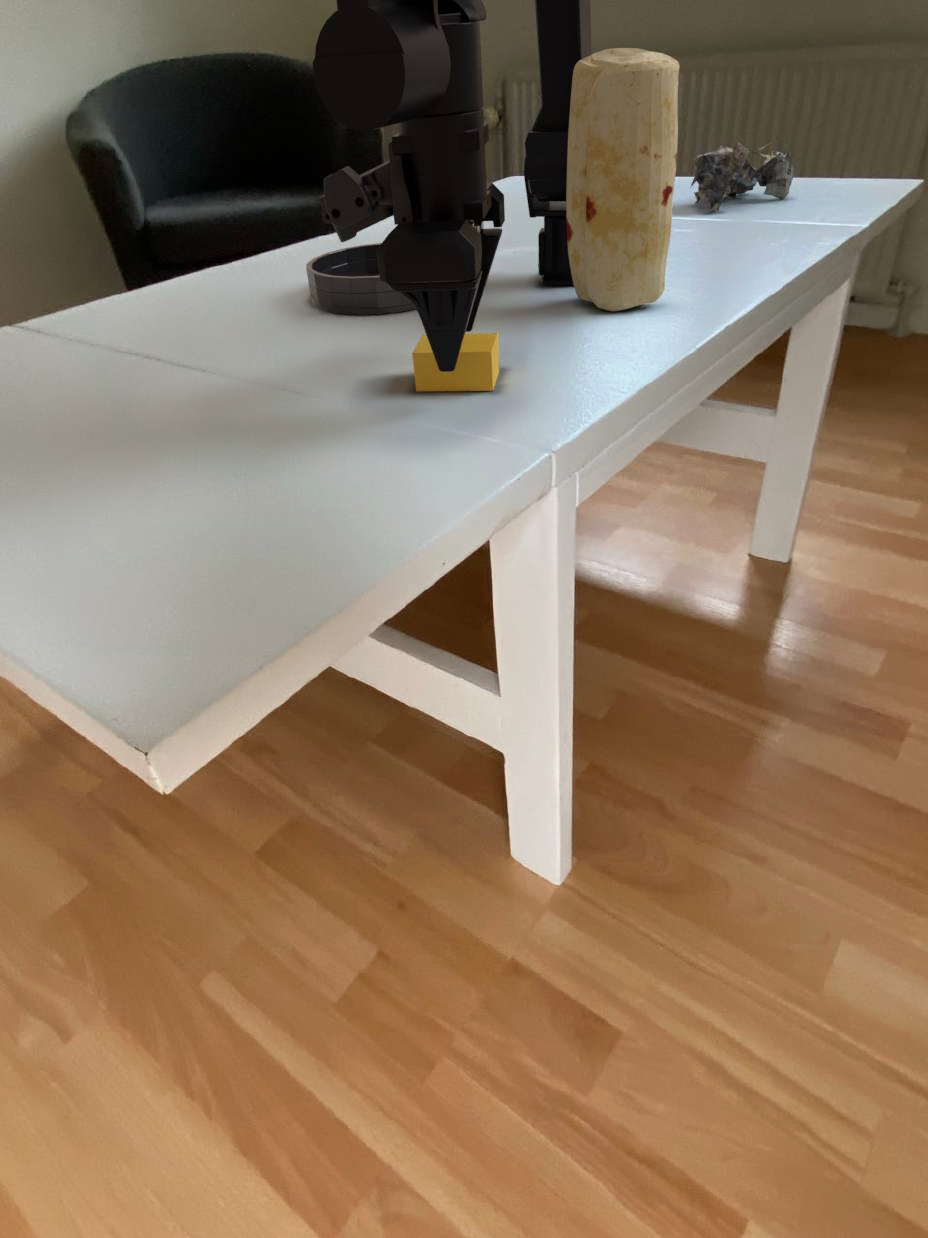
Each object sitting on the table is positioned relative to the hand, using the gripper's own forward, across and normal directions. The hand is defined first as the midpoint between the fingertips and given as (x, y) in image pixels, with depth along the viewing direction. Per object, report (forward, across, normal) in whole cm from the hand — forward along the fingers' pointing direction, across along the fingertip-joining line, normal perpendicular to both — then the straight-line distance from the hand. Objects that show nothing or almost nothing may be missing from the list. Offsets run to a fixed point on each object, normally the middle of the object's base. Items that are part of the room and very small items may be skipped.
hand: (456, 349), depth 62 cm
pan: (+2, -26, -12) cm, 29 cm away
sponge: (+2, 0, 0) cm, 2 cm away
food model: (+2, -20, +12) cm, 23 cm away
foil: (+3, -67, +29) cm, 73 cm away
